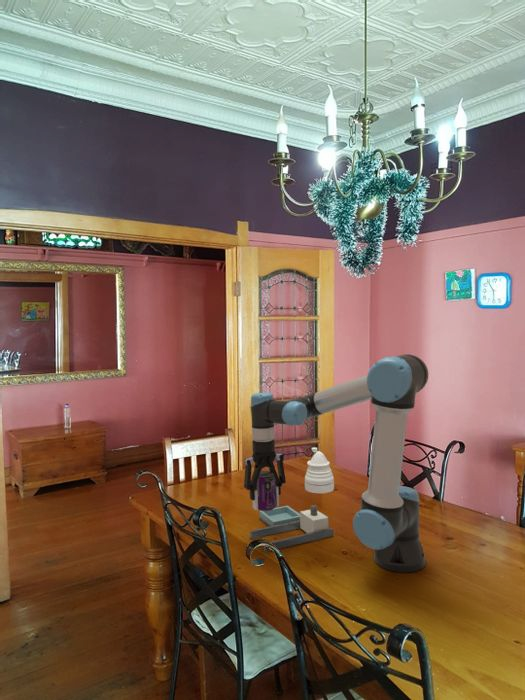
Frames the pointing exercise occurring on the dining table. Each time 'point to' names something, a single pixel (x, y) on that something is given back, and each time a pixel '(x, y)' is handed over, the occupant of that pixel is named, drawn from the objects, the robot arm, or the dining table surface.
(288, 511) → the tray
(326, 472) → the honey pot
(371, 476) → the robot arm
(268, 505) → the beverage can
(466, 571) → the dining table surface
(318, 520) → the slider
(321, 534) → the slide track
